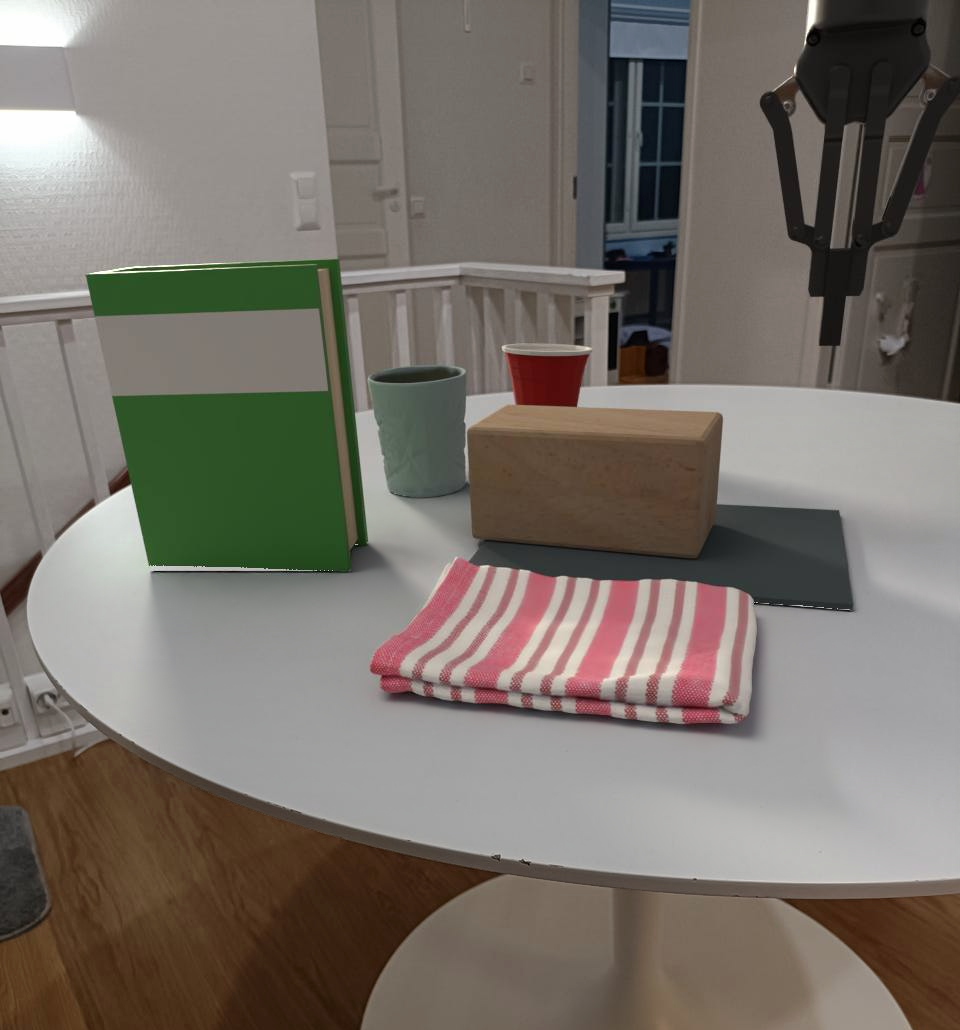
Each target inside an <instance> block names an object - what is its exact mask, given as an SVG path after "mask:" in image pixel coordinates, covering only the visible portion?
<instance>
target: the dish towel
mask: <svg viewBox="0 0 960 1030" xmlns="http://www.w3.org/2000/svg"><path fill="white" fill-rule="evenodd" d="M468 561H469V560H466V559H465V558H462V557H459V556H456V557H454V559H453V561H452V562H449V563H447V564H446V565H445V567H444V569H443V571H442V573H441V574H440V576H439V577H438V579H437V582H436V584H435V586H434V588H433V589H432V591H431V593H430V595H429V597H428V598H427V600H426V602H425V603H424V604H423V606H422V608H421V610H419V612H418V613H417V614H416V615H415V616H414V617H413V618H412V620H411V621H410V622H409V623H408V624H407V626H406V627H405V628H403V629H402V631H400V632H398V634H395V635H392V636H391V637H389V638H388V639H386V640H385V641H384V642H383V643H382V644H381V645H380V646H379V647H378V648H377V649H375V651H374V652H373V654H372V658H371V660H370V661H369V672H370V674H373V675H377V676H381V677H380V679H379V688H380V689H381V691H383V692H384V693H389V694H390V693H391V694H392V693H393V694H399V693H403V692H413V693H415V694H416V695H419V696H422V697H432V698H437V699H440V700H443V701H449V702H454V701H458V702H463V703H471V704H502V705H508V706H512V707H518V708H523V709H525V708H528V709H535V710H540V711H550V712H551V711H556V712H562V713H569V714H576V715H577V714H578V715H579V714H586V715H600V716H610V717H613V718H618V719H624V720H637V721H644V722H650V723H651V722H652V723H671V724H677V725H689V724H691V725H692V724H707V723H708V724H710V723H711V724H712V723H713V724H716V723H717V724H719V723H720V724H728V725H730V724H732V725H733V724H739V723H740V722H742V721H744V720H746V719H747V717H748V716H749V714H750V702H751V699H752V693H753V684H752V683H753V681H752V679H753V674H752V673H753V668H754V667H753V665H754V656H755V651H756V645H757V639H756V638H757V634H758V627H757V616H756V613H755V612H756V611H755V604H754V600H753V599H752V597H751V596H750V595H749V594H747V593H745V592H743V591H741V590H738V589H735V588H732V587H718V586H712V585H707V584H702V583H698V582H689V581H679V580H673V579H662V580H653V579H643V580H639V581H613V580H593V579H589V578H572V577H568V576H559V577H548V576H543V575H540V574H536V573H533V572H531V571H528V570H515V569H510V568H501V567H492V566H489V565H486V566H479V567H478V566H475V565H473V564H470V563H469V562H468Z"/></svg>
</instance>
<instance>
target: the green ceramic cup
mask: <svg viewBox="0 0 960 1030" xmlns="http://www.w3.org/2000/svg"><path fill="white" fill-rule="evenodd" d="M467 372H468V371H467V370H466V369H465V368H463V367H460V366H455V365H449V364H448V365H446V364H420V365H419V364H418V365H410V366H409V365H408V366H400V367H393V368H388V369H383V370H380V371H377V372H373V373H371V374H370V375H368V377H367V385H368V389H369V390H368V391H369V395H370V399H371V405H372V410H373V415H374V419H375V421H376V425H377V426H378V429H377V437H378V441H379V446H380V452H381V455H382V456H383V462H382V463H383V470H384V475H385V482H386V487H387V490H388V491H389V490H390V491H391V492H393V493H396V494H398V495H397V496H399V495H405V496H411V497H410V498H433V497H442V496H447V495H451V494H454V493H455V492H458V491H460V490H462V489H463V488H464V487H465V485H466V481H467V473H466V472H467V471H466V470H467V469H466V468H467V466H466V461H467V460H466V454H465V448H466V443H467V442H466V441H467V429H466V428H467V426H466V422H465V417H466V412H467V411H466V410H467V409H466V408H467V405H466V404H467V375H468V373H467ZM390 491H389V492H390ZM391 492H390V493H391ZM393 493H392V494H393Z"/></svg>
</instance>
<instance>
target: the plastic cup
mask: <svg viewBox="0 0 960 1030" xmlns="http://www.w3.org/2000/svg"><path fill="white" fill-rule="evenodd" d="M501 350H502V351H503V352H504V355H505V358H506V364H507V367H508V373H509V374H510V380H511V382H510V383H511V387H512V392H513V398H514V405H533V406H561V407H578V404H579V398H580V393H581V388H582V387H581V386H582V381H583V376H584V373H585V370H586V365H587V363H588V358H589V357H590V355H591V354H592V353H593V351H594V348H593V347H589V346H585V345H577V344H567V343H566V344H565V343H531V342H530V343H510V344H505V345H502V346H501Z"/></svg>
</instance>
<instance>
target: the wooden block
mask: <svg viewBox="0 0 960 1030" xmlns="http://www.w3.org/2000/svg"><path fill="white" fill-rule="evenodd" d="M723 425H724V417H723V414H722V413H720V412H718V411H695V410H672V409H671V410H668V409H667V410H666V409H643V408H642V409H640V408H639V409H638V408H616V407H615V408H612V407H587V406H586V407H585V406H577V407H561V406H533V405H515V404H506V405H504V406H502V407H500V408H499V409H497V410H495V411H494V412H492V413H490V414H489V415H488V416H486V417H484V418H483V419H481V420H480V421H478V422H476V423H474V424H473V425H471V426H470V427H468V428H467V430H466V441H467V442H466V443H467V461H468V462H467V465H468V480H469V481H468V482H469V483H468V485H469V504H470V521H471V525H470V526H471V536H472V538H473V539H476V540H485V541H486V540H494V541H505V542H516V543H527V544H538V545H549V546H560V547H571V548H582V549H593V550H604V551H615V552H626V553H637V554H648V555H659V556H670V557H681V558H692V559H693V558H697V557H698V555H699V553H700V551H701V549H702V547H703V545H704V543H705V541H706V538H707V536H708V534H709V532H710V530H711V528H712V526H713V524H714V522H715V519H716V508H717V504H718V493H719V480H720V479H719V478H720V466H721V455H722V454H721V453H722V440H723V428H724V427H723Z"/></svg>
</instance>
